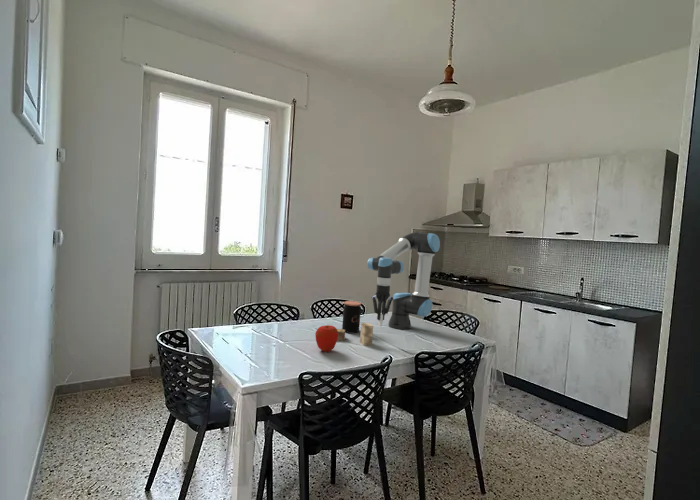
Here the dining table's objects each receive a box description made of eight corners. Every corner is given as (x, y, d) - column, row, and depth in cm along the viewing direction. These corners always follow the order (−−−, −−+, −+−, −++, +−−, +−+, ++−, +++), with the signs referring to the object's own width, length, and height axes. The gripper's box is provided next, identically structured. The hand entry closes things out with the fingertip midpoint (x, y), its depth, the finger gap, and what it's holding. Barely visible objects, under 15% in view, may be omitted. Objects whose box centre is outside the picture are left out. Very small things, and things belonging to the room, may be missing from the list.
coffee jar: (352, 334, 239) (354, 305, 238) (338, 330, 245) (340, 302, 244) (362, 331, 247) (364, 303, 246) (348, 327, 254) (350, 300, 253)
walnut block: (345, 329, 231) (326, 327, 231) (344, 332, 225) (325, 330, 225) (344, 338, 232) (326, 336, 232) (344, 341, 226) (325, 339, 226)
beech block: (368, 341, 227) (369, 323, 226) (372, 345, 221) (373, 325, 220) (359, 342, 225) (361, 323, 224) (363, 345, 219) (364, 325, 219)
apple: (325, 345, 214) (327, 320, 213) (342, 351, 206) (344, 324, 206) (309, 350, 204) (311, 323, 204) (326, 356, 197) (328, 328, 196)
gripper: (391, 284, 229) (387, 323, 230) (370, 283, 225) (367, 323, 226) (396, 286, 222) (393, 327, 223) (375, 285, 218) (371, 327, 219)
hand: (380, 325), depth 225 cm, fingers closed
